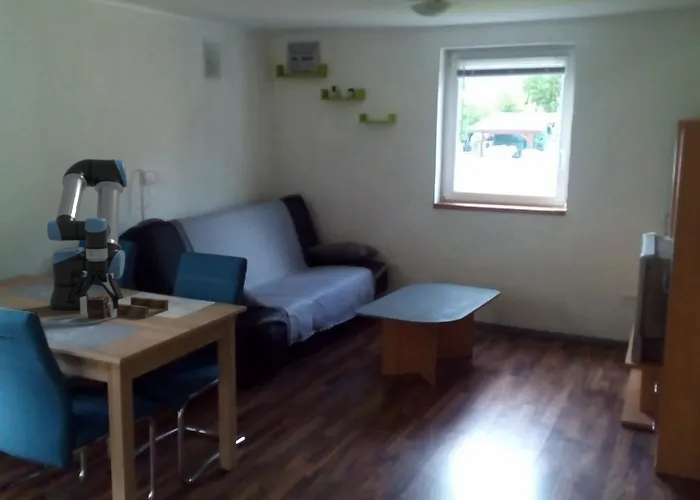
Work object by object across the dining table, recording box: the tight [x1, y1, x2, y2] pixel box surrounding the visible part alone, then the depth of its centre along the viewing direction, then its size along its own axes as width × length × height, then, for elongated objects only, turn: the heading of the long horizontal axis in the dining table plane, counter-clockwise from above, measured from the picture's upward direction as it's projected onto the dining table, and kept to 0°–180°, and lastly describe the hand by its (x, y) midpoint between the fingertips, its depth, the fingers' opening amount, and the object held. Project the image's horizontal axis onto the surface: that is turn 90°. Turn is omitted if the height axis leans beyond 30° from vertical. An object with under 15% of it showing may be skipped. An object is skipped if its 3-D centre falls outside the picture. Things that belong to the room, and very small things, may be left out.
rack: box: [109, 296, 169, 319], centre depth 266 cm, size 16×15×4 cm
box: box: [87, 296, 110, 320], centre depth 257 cm, size 6×6×7 cm
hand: (98, 315), depth 257 cm, fingers open, 13 cm apart
